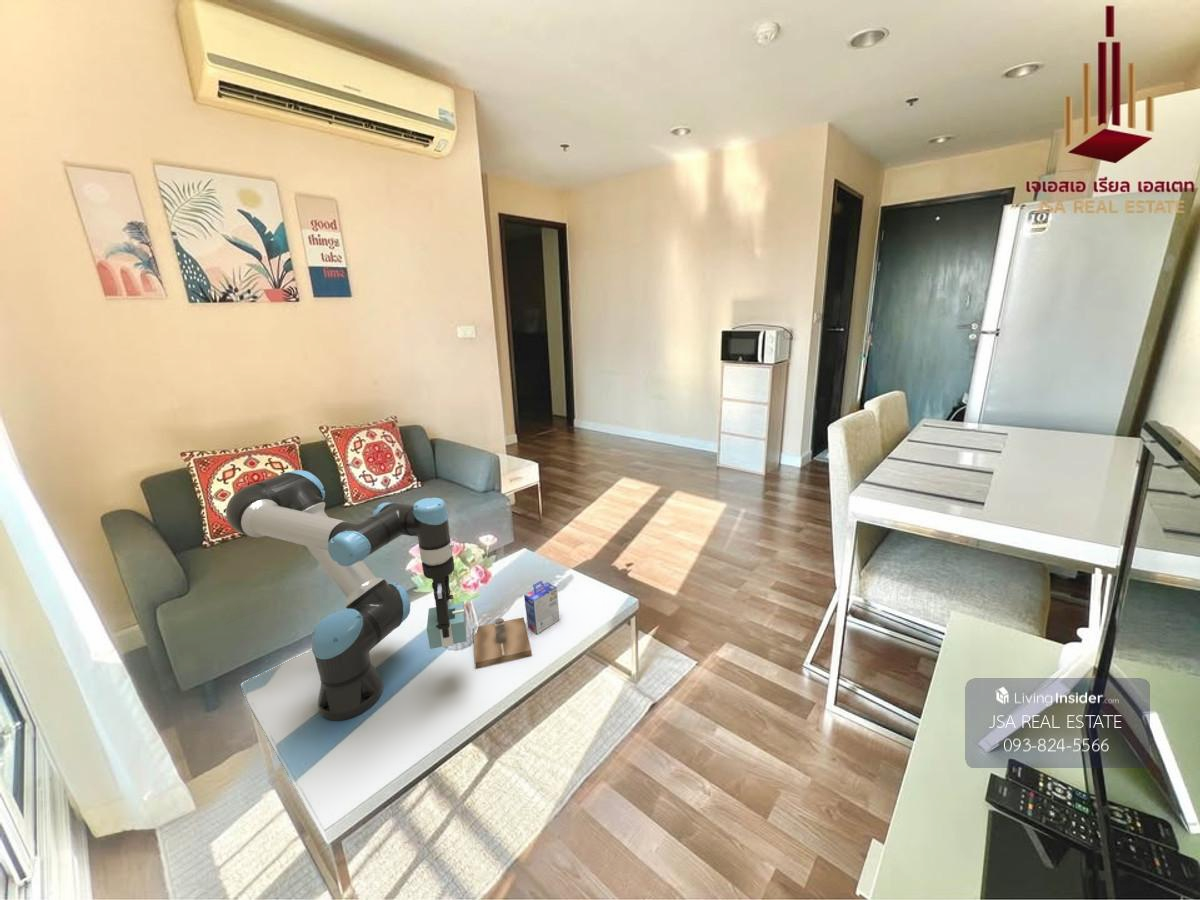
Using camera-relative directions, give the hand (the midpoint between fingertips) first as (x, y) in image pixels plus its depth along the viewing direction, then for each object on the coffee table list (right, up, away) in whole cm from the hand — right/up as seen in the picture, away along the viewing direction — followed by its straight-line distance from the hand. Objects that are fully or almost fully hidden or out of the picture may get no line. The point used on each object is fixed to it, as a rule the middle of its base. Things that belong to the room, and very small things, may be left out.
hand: (448, 633), depth 123 cm
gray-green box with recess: (0, 0, 0) cm, 0 cm away
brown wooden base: (+10, -10, +18) cm, 23 cm away
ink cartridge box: (+22, -8, +27) cm, 36 cm away
